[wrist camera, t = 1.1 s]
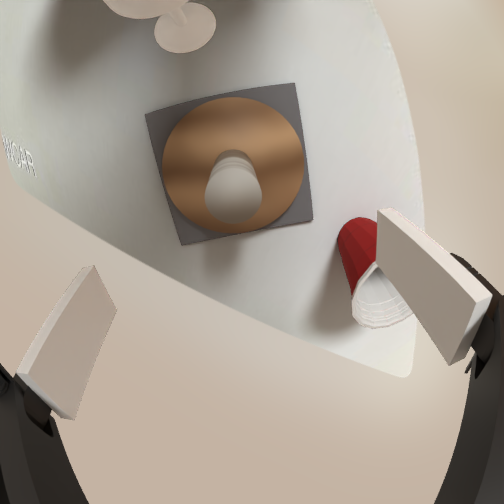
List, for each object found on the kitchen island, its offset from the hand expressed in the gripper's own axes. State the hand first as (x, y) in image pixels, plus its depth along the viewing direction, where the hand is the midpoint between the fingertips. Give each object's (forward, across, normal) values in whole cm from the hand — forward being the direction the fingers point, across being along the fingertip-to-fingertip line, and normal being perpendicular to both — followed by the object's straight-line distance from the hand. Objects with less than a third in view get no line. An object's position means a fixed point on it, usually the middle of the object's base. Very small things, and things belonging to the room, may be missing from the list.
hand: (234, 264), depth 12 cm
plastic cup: (+20, +14, -12) cm, 27 cm away
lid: (+20, 0, 0) cm, 20 cm away
